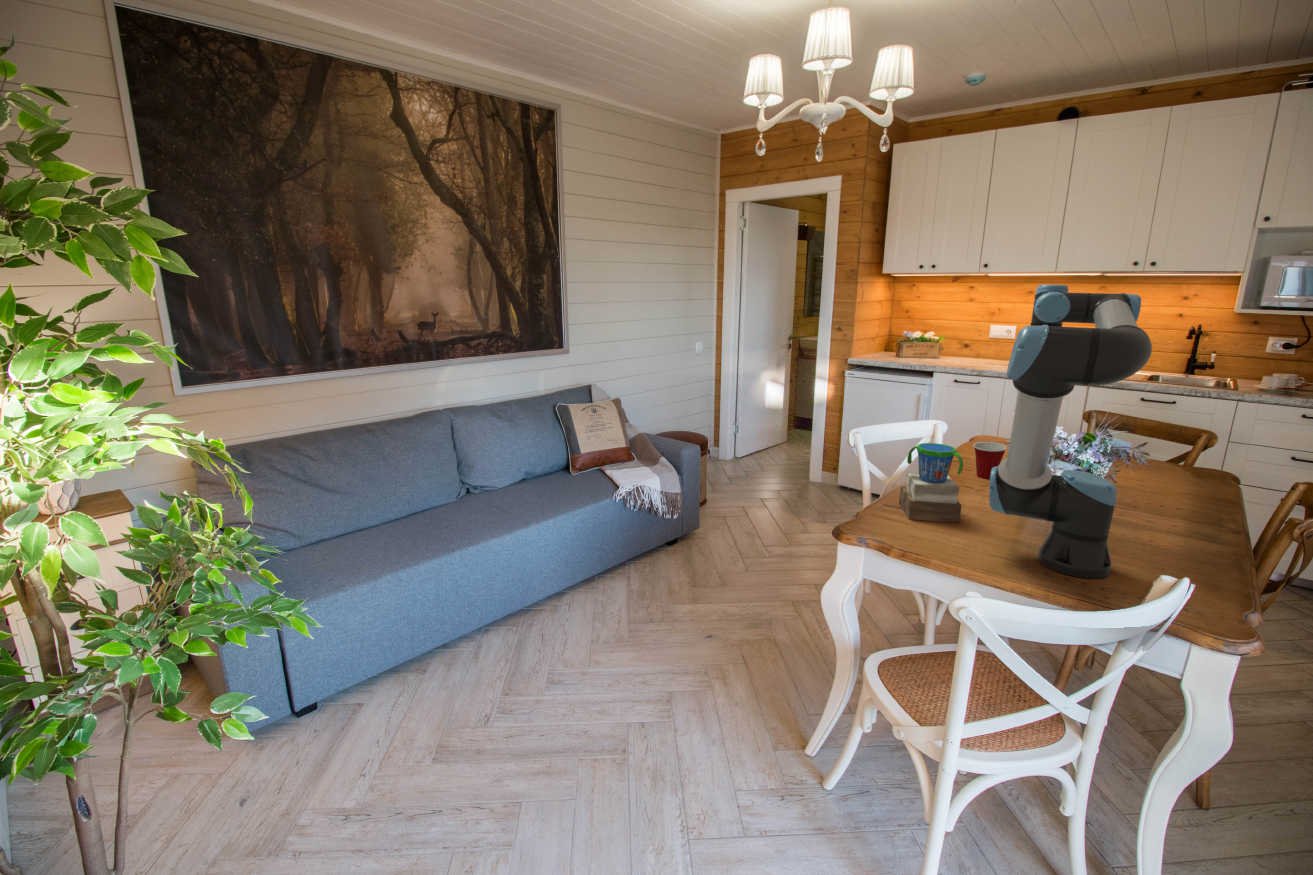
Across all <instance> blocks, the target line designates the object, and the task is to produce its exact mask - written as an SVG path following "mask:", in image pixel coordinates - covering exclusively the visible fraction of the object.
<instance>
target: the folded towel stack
mask: <svg viewBox="0 0 1313 875" xmlns="http://www.w3.org/2000/svg"><path fill="white" fill-rule="evenodd" d="M904 485H905V486H900V490H899V491H900V494H899V498H898V499H899V500H898V504H899V505H900V507H901V509H902V510H903V512H904V513H905V516H906V517H907V519H908V520H912V521H914V520H915V521H927V522H942V523H954V524H955V523H956V524H959V523H960V518H961V514H962V513H961V512H962V507H963V506H962V504H961V502H959V501H958V500H959V493H960V487H959V485H958V484H957V483H956V482H955V481H954V480H953V479H952V478H951V477H950V476H949V475H948V476H947V479H946V481H945V482H940V483H934V482H927V481H924V480H922V479H921V478H920V477H919V472H906V476H905V484H904Z"/></svg>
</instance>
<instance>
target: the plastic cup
mask: <svg viewBox="0 0 1313 875" xmlns="http://www.w3.org/2000/svg"><path fill="white" fill-rule="evenodd" d="M972 447H973V448H974V453H975V467H976V476H977V477H978V478H980V479H986V480H990V475H991V470H992V468H993V467H997V466H999V464H1000V463H1001V462H1002V461H1003V456H1004V454H1005V452H1006V450H1007V449H1008V446H1007V445H1005V444H1003V443H999V442H994V441H993V442H992V441H978V442H975V443H973V445H972Z"/></svg>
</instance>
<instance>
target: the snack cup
mask: <svg viewBox="0 0 1313 875" xmlns="http://www.w3.org/2000/svg"><path fill="white" fill-rule="evenodd" d="M915 450H917V455H918V458H917V459H918V473H919V477H920V478H921V479H922V480H924V481H927V482H934V483H940V482H945V481H946V479H947V476H949V473H950V470H951V467H952V462H953V459H954V457H956V458H958V463H959V466H958V470H957V475H960V474H961V473H962V471H963V468H964V461H963V457H962V455H961V454H960V453H959V452H958V451H957V449H956V447H953V446H952V445H948V444H943V443H935V442H934V443H933V442H931V443H930V442H925V443H918V444H917V445H916V446H913V447H911V449H910V450H909V451H908V454H907V458H906V459H907V460H906V462H907V464H908V465H911V464H912V463H913V460H912V458H913V457H912V456H913V455H912V453H913V452H914V451H915Z"/></svg>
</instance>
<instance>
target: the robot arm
mask: <svg viewBox="0 0 1313 875" xmlns="http://www.w3.org/2000/svg"><path fill="white" fill-rule="evenodd" d="M1033 300H1034V301H1033V308H1032V314H1031V321H1030V325H1025V326H1023V327H1022V328H1021V329H1020V330H1019V331H1018V333H1017V336H1016V337H1015V338H1016V339H1015V341H1014V343H1013V347H1012V350H1011V355H1010V357H1009V360H1008V365H1007V368H1006V377H1007V378H1008V379H1009V380H1012V384H1013V387H1014V389H1016V392H1017V393H1016V398H1015V404H1014V410H1013V412H1014V415H1013V416H1014V417H1013V421H1012V422H1013V423H1012V427H1011V432H1010V439H1009V443H1008V444H1009V445H1008V448H1007V449H1008V450H1007V455H1006V457H1005V459H1002V460H1001V463H1000V464H999V466H997V467H993V468H992V470H991V475H990V479H989V492H988V497H989V499H988V501H989V507H990V508H991V510H992V511H994V512H997V513H1000V514H1004V515H1008V516H1015V517H1020V518H1021V517H1022V518H1028V519H1035V520H1041V521H1044V522H1045V521H1046V522H1051V524H1052V525H1051V528H1050V531H1049V533H1048V535H1047V536H1046V538H1045V539H1044V540H1043V542H1042V544H1041V546H1040V548H1039V550H1038V554H1037V560H1038V561H1039V562H1040V564H1042V565H1044V566H1045V567H1047V568H1049V569H1051V570H1053V571H1056V572H1058V573H1061V574H1064V575H1067V576H1071V577H1076V578H1083V579H1093V580H1094V579H1104V578H1107V577H1108V576H1110V573H1111V569H1112V562H1111V561H1112V560H1111V556H1110V551H1109V545H1108V541H1109V540H1108V539H1109V534H1110V530H1111V525H1112V520H1113V515H1114V511H1115V507H1116V506H1117V497H1118V488H1117V486H1116V485H1115V484H1114V483H1113V482H1111V481H1110V480H1108V479H1106V478H1104V477H1102V476H1099V475H1096V474H1093V473H1090V472H1087V471H1081V470H1076V469H1072V470H1071V469H1064V470H1063V471H1062V472H1061V473H1060V475H1057V474H1053V473H1052V472H1053V471H1052V470H1051V467H1049V465H1048V463H1049V458H1050V454H1051V450H1052V446H1053V441H1054V437H1055V433H1056V429H1057V424H1058V420H1059V416H1060V411H1061V408H1062V403H1063V400H1064V397H1066V396H1068V395H1069V394H1071V393H1072V392H1073V391H1074V388H1075V385H1083V386H1084V385H1085V386H1106V385H1112V384H1115V383H1118V382H1121V381H1124V380H1126V379H1128V378H1130V377H1132V376H1134V375H1135V374H1137V373H1138V372H1139V371H1141V370H1142V369H1143V367H1145V366H1146V365H1147V363H1148V362H1149V360H1150V358H1151V355H1152V351H1153V346H1152V345H1153V344H1152V341H1151V338H1150V336H1149V335H1148V334H1147V332H1146V331H1145V330H1144V329H1142V328H1141V327H1139V326H1138V324H1137V322H1138V320H1139V316H1140V314H1141V313H1140V312H1141V307H1142V297H1141V296H1140V295H1138V294H1135V293H1134V294H1133V293H1126V292H1123V293H1121V292H1120V293H1108V292H1107V293H1102V292H1101V293H1098V292H1096V293H1095V292H1094V293H1092V292H1091V293H1090V292H1069V286H1068V285H1067V284H1066V285H1065V284H1039V285H1038V286H1037V288H1036V291H1035V294H1034V299H1033ZM1063 323H1069V324H1070V323H1072V324H1076V323H1077V324H1093V325H1094V327H1079V326H1076V327H1074V326H1063Z"/></svg>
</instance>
